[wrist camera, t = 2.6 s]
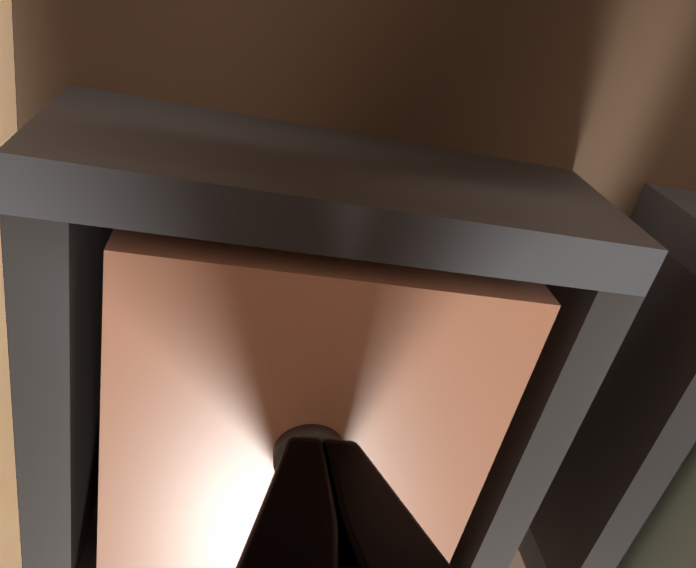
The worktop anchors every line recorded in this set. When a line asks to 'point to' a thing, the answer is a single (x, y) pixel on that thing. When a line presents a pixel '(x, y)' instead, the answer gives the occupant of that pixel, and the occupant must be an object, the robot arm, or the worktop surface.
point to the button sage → (669, 525)
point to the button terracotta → (294, 386)
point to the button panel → (373, 217)
